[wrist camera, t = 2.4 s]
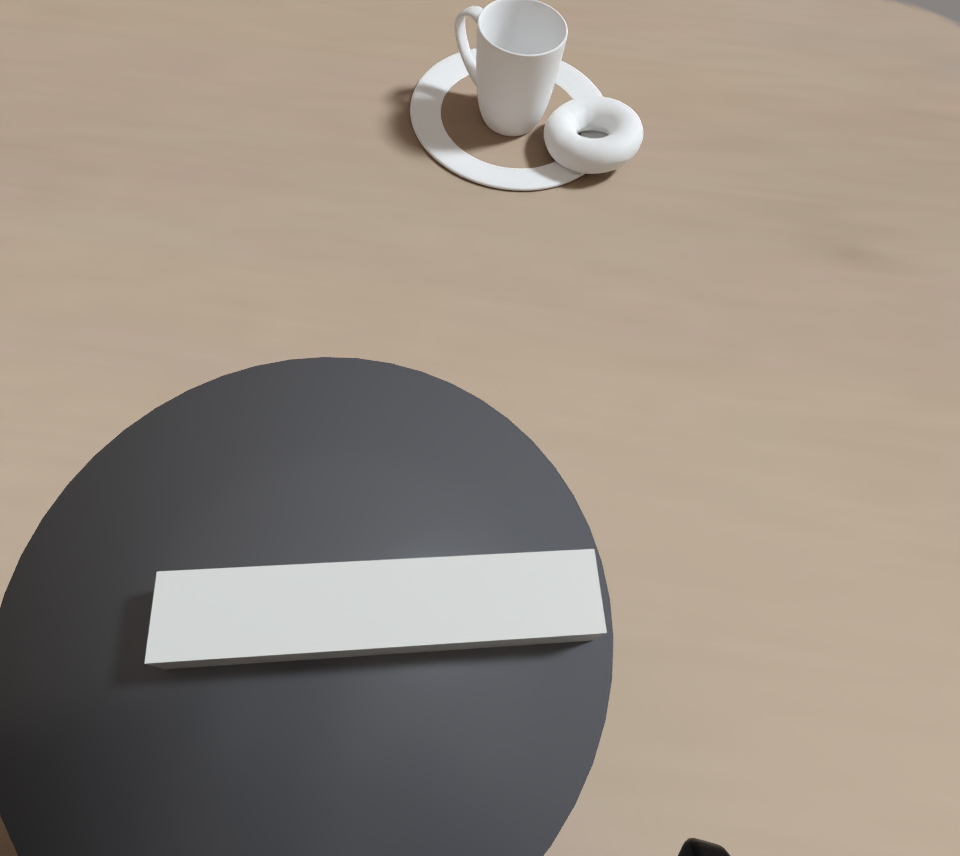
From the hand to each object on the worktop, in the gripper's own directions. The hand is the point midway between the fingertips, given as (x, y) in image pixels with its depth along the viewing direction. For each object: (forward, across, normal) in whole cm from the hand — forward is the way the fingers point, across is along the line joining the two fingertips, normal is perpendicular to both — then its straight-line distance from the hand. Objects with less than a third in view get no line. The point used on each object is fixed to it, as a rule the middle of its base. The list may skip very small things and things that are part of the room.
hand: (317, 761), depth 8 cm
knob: (+7, 0, +6) cm, 9 cm away
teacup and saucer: (+21, +1, -7) cm, 22 cm away
